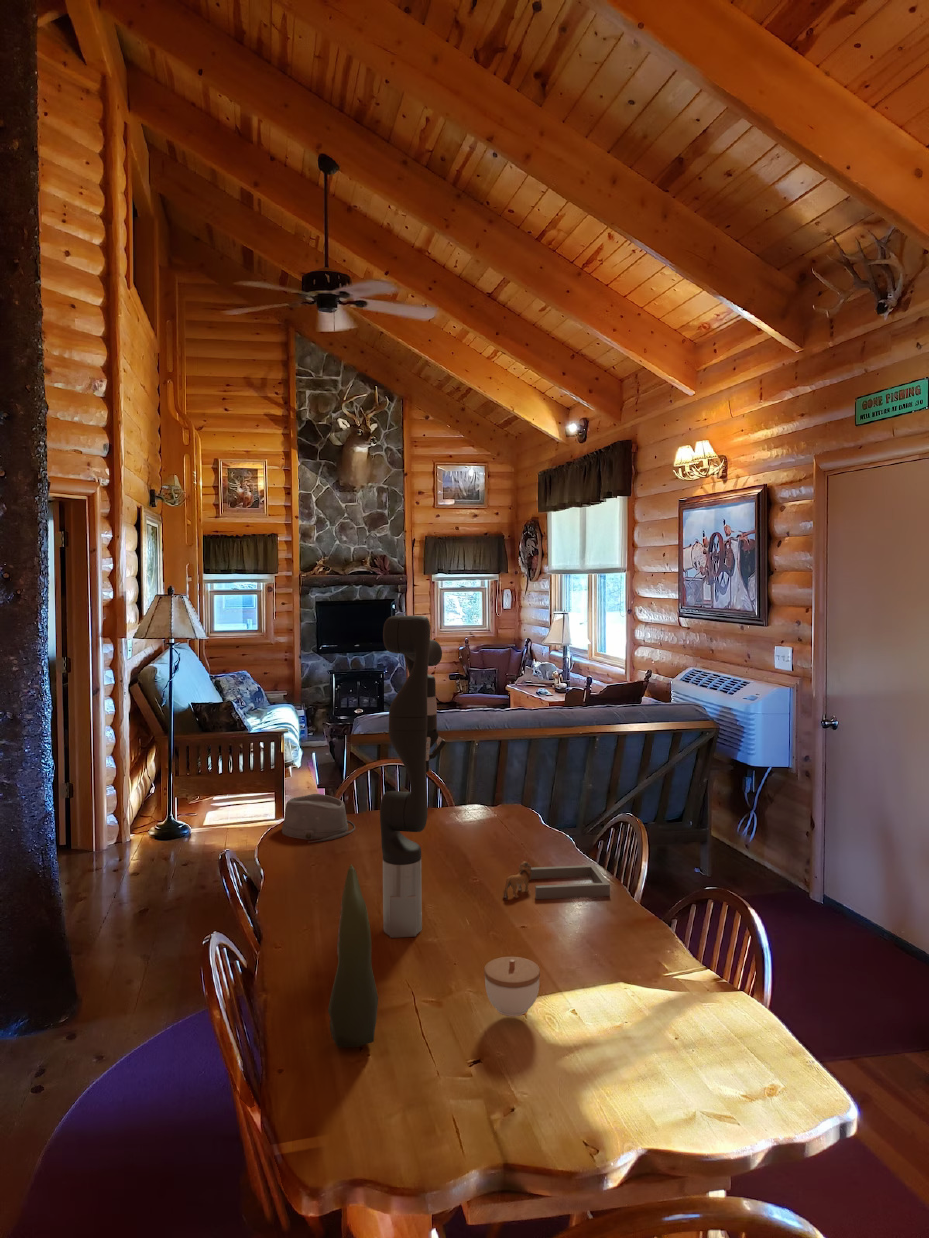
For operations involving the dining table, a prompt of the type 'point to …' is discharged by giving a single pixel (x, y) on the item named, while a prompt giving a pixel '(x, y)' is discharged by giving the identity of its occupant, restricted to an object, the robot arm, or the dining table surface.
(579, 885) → the bay
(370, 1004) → the tentacle
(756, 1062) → the dining table surface
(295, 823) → the fedora
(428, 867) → the dining table surface
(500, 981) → the lidded jar
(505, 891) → the lion figurine
